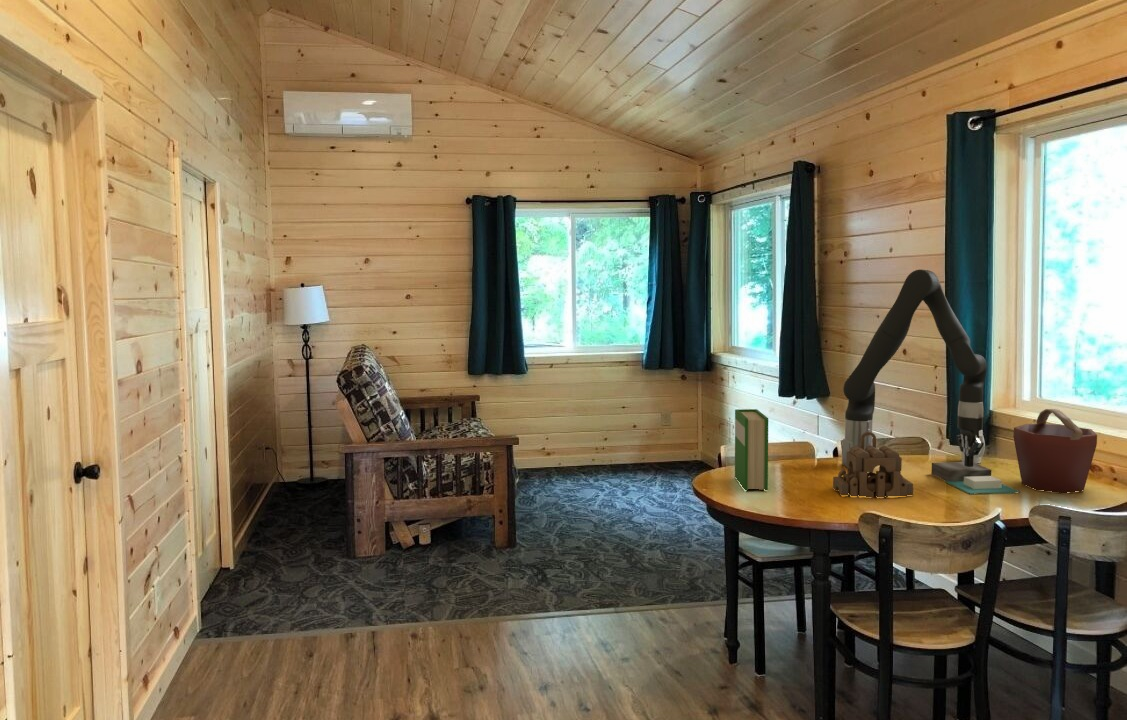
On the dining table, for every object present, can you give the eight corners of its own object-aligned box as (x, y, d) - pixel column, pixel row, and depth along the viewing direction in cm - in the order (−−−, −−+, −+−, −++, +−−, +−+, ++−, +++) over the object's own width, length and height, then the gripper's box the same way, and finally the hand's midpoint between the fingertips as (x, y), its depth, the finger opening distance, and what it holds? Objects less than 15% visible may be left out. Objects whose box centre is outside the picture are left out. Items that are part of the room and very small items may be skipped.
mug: (956, 460, 296) (957, 428, 294) (973, 459, 297) (974, 427, 295) (974, 466, 286) (976, 433, 284) (991, 465, 287) (993, 432, 285)
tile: (963, 476, 260) (963, 484, 261) (974, 481, 254) (974, 489, 255) (990, 475, 261) (990, 483, 261) (1001, 480, 255) (1001, 488, 255)
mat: (969, 494, 250) (969, 492, 250) (945, 482, 265) (945, 480, 265) (1019, 493, 251) (1019, 491, 251) (992, 480, 266) (992, 479, 266)
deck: (949, 483, 264) (949, 471, 264) (931, 474, 276) (931, 462, 276) (991, 481, 265) (991, 469, 264) (971, 472, 277) (971, 461, 276)
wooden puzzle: (843, 499, 248) (844, 440, 246) (830, 487, 263) (831, 431, 261) (916, 499, 247) (917, 439, 245) (898, 486, 262) (900, 430, 260)
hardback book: (767, 491, 258) (768, 418, 255) (744, 492, 258) (745, 418, 256) (756, 478, 275) (756, 409, 273) (734, 478, 276) (735, 409, 273)
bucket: (1098, 500, 242) (1102, 418, 239) (1015, 493, 251) (1018, 414, 249) (1084, 480, 264) (1088, 406, 261) (1008, 475, 273) (1011, 402, 271)
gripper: (948, 411, 270) (947, 462, 272) (970, 418, 257) (968, 471, 259) (970, 411, 271) (968, 461, 272) (993, 418, 257) (991, 470, 259)
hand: (968, 466), depth 266 cm, fingers closed
